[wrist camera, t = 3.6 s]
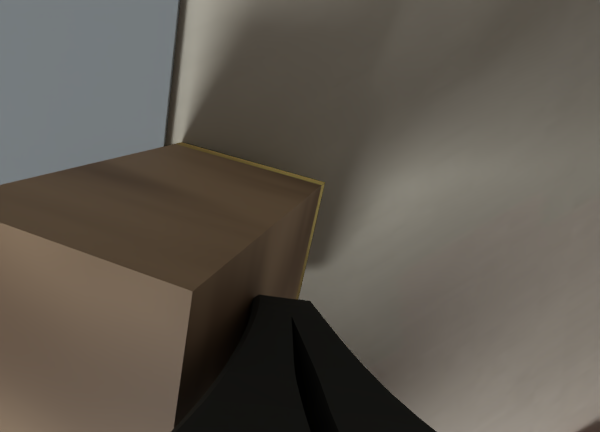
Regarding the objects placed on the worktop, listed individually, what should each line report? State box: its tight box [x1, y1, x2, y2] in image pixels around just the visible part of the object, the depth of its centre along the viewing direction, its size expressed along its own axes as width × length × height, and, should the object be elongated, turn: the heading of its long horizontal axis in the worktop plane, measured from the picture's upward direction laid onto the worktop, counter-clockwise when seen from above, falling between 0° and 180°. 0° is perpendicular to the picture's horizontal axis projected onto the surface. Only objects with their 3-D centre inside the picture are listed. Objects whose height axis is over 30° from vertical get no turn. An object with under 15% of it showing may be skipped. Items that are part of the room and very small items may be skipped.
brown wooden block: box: [0, 142, 325, 432], centre depth 12 cm, size 5×5×8 cm
